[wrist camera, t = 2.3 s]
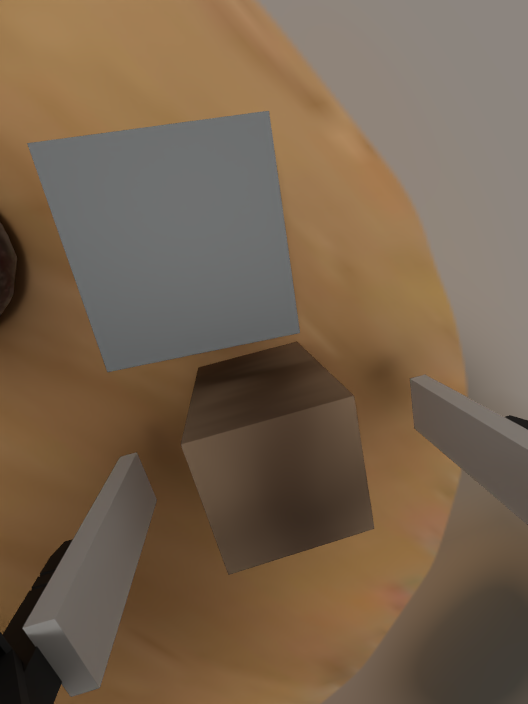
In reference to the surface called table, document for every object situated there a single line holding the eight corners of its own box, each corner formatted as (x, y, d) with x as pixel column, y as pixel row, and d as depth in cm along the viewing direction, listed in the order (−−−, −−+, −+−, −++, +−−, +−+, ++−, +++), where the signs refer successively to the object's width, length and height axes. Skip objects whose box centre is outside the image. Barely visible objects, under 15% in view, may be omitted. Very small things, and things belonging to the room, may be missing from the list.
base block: (140, 342, 17) (107, 372, 12) (91, 185, 14) (27, 143, 10) (277, 315, 17) (299, 332, 12) (253, 161, 15) (268, 110, 10)
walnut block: (225, 452, 19) (228, 574, 11) (198, 367, 17) (180, 444, 10) (314, 427, 19) (374, 528, 12) (296, 341, 18) (354, 395, 10)
